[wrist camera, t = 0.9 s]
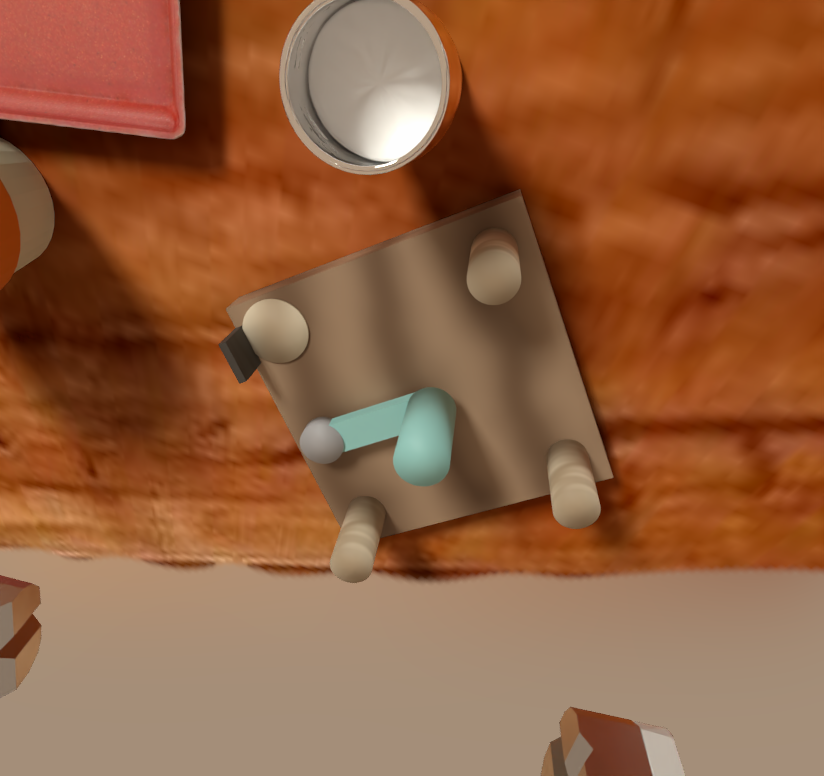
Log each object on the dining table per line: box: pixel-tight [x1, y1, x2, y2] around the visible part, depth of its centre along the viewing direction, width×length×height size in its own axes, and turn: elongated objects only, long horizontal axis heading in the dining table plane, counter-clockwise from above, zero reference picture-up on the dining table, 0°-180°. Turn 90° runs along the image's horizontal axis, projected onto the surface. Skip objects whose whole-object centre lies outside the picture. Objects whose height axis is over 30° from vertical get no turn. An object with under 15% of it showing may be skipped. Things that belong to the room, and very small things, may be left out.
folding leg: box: [300, 387, 456, 486], centre depth 41 cm, size 11×3×8 cm, turn 112°
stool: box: [219, 189, 614, 583], centre depth 42 cm, size 20×20×8 cm
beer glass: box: [279, 0, 463, 175], centre depth 32 cm, size 7×7×15 cm
